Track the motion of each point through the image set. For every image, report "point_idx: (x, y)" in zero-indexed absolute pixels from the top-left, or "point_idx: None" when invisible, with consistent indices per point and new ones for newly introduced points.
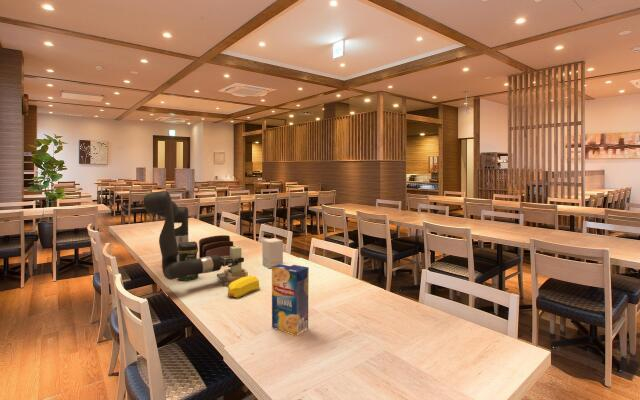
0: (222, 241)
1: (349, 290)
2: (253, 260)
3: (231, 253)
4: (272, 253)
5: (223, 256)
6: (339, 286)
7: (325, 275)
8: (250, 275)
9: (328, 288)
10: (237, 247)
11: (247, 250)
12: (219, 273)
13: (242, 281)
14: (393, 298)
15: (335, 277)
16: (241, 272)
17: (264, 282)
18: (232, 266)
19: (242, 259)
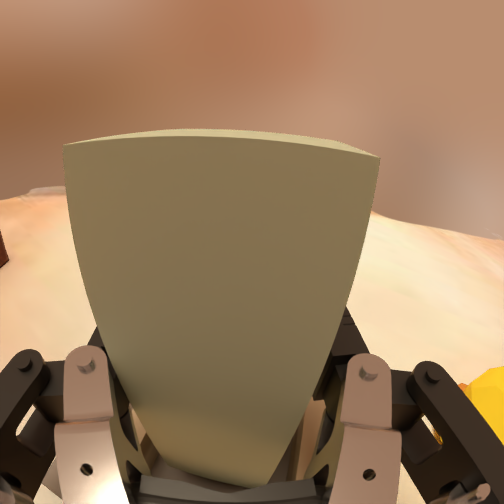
0: None
1: (469, 252)
2: (70, 247)
3: (218, 327)
4: None
5: (11, 419)
6: (449, 249)
7: (369, 229)
8: (498, 385)
9: (461, 264)
10: (265, 133)
11: (15, 221)
12: (49, 468)
13: None
14: (491, 243)
15: (389, 228)
16: (312, 418)
17: (388, 356)
18: (273, 467)
19: (344, 314)
